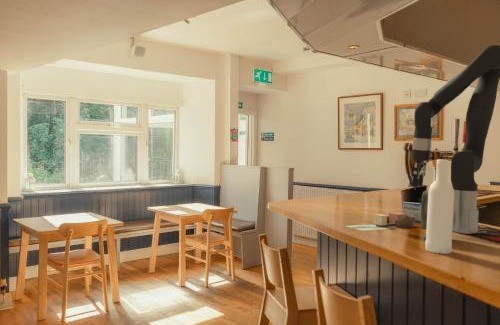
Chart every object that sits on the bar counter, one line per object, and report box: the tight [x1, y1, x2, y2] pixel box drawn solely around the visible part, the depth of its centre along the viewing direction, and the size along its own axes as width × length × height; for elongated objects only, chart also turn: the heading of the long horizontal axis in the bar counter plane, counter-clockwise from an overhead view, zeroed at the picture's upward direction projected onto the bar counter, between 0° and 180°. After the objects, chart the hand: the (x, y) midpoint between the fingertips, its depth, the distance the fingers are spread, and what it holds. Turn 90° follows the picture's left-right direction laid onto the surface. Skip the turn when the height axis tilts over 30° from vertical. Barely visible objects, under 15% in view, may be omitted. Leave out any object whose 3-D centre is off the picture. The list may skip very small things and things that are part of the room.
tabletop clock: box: [419, 189, 454, 241], centre depth 157 cm, size 14×9×25 cm, turn 147°
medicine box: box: [401, 201, 421, 223], centre depth 197 cm, size 8×4×9 cm, turn 62°
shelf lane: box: [345, 215, 417, 232], centre depth 178 cm, size 11×30×4 cm, turn 119°
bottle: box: [424, 158, 454, 255], centre depth 138 cm, size 8×8×30 cm
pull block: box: [373, 211, 406, 227], centre depth 180 cm, size 5×14×5 cm, turn 119°
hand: (417, 186), depth 183 cm, fingers open, 8 cm apart
